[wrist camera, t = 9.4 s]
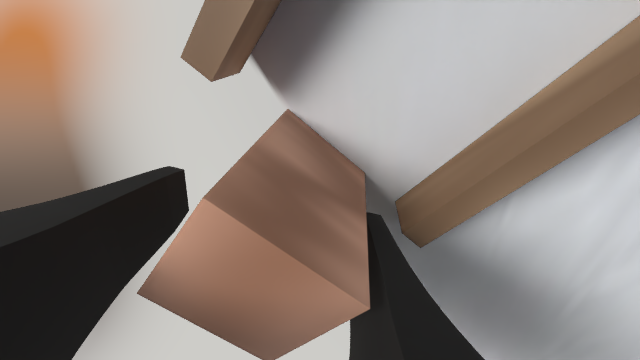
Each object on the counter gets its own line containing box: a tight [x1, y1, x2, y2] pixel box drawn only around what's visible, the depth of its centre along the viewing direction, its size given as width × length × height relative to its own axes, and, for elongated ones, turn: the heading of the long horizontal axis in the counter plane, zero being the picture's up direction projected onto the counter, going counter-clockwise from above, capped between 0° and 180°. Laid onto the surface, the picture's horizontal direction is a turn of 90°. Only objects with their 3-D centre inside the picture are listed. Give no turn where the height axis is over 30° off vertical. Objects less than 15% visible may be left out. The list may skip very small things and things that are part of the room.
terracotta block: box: [137, 109, 370, 360], centre depth 8 cm, size 4×4×6 cm
